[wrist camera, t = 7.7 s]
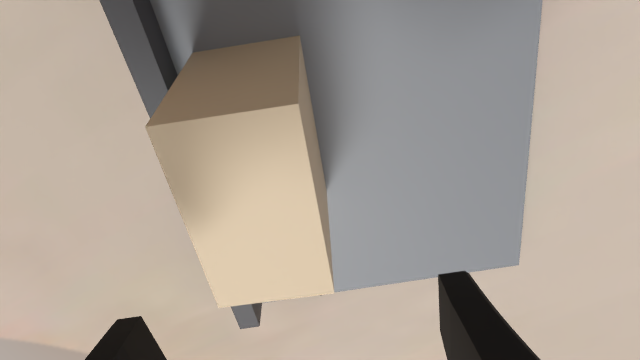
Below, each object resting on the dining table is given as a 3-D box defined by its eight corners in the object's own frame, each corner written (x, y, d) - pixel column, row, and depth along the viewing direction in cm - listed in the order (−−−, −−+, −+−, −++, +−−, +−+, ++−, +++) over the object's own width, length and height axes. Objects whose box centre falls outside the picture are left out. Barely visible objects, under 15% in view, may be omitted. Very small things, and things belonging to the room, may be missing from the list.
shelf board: (590, -814, 9) (681, -1031, 7) (511, 251, 24) (531, 286, 22) (-124, -591, 10) (-238, -717, 8) (236, 292, 25) (230, 330, 23)
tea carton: (326, 191, 20) (334, 293, 15) (238, 203, 21) (217, 308, 16) (299, 35, 16) (298, 103, 11) (191, 52, 17) (143, 127, 12)
